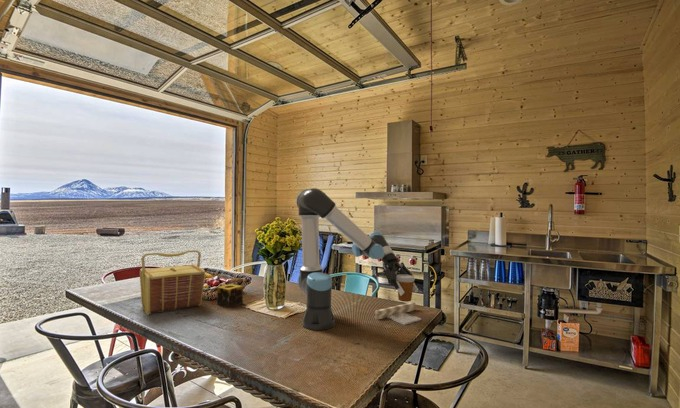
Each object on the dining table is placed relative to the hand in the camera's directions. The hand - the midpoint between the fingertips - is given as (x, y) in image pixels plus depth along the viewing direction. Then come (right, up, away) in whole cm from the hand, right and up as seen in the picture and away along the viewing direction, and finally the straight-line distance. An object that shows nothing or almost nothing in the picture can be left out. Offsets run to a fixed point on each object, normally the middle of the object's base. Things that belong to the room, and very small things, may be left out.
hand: (409, 292), depth 161 cm
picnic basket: (-126, -12, +14) cm, 127 cm away
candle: (-97, -13, +22) cm, 100 cm away
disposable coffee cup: (-2, -5, +3) cm, 6 cm away
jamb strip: (-5, -14, +9) cm, 18 cm away
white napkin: (-2, -14, +2) cm, 14 cm away
